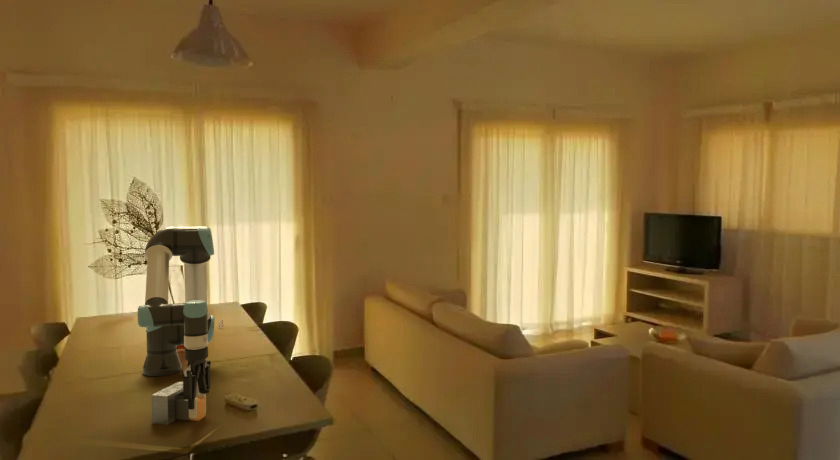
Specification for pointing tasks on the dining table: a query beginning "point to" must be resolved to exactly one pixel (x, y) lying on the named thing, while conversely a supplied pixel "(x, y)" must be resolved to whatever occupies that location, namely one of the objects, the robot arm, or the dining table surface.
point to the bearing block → (165, 404)
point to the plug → (183, 409)
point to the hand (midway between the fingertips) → (197, 415)
